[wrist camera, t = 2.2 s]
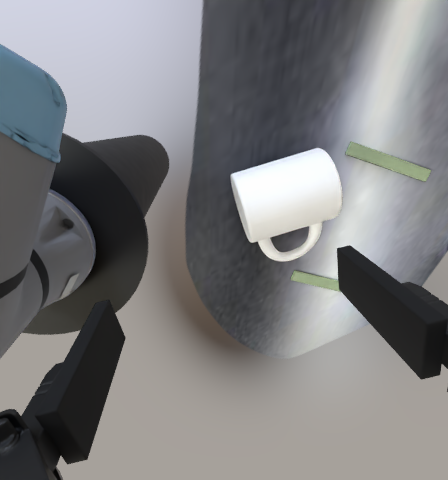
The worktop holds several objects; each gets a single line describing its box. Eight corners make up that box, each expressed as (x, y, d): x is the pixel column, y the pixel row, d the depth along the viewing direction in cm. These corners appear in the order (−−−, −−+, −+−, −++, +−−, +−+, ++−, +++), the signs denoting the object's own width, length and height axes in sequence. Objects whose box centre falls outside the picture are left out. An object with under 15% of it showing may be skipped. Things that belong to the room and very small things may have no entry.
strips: (290, 279, 40) (291, 280, 40) (350, 141, 34) (351, 141, 34) (361, 295, 43) (362, 296, 43) (429, 170, 37) (431, 170, 36)
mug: (226, 169, 34) (236, 181, 26) (306, 145, 34) (338, 150, 26) (250, 255, 38) (263, 286, 31) (320, 234, 38) (351, 260, 31)
